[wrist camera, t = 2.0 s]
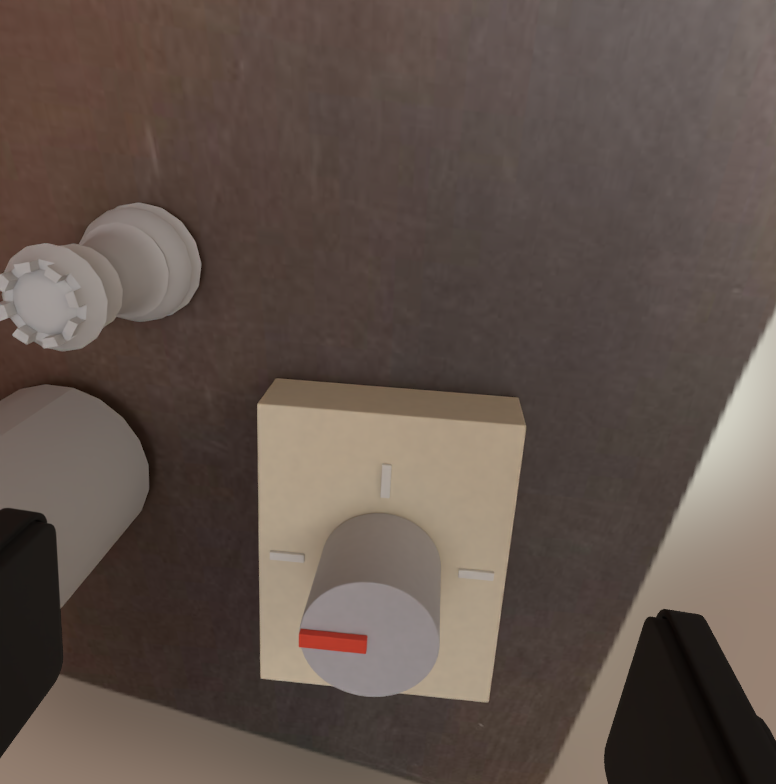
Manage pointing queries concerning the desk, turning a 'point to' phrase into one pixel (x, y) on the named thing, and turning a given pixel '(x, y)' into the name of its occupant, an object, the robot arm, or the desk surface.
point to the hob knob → (374, 607)
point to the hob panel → (388, 508)
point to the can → (71, 472)
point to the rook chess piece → (101, 278)
